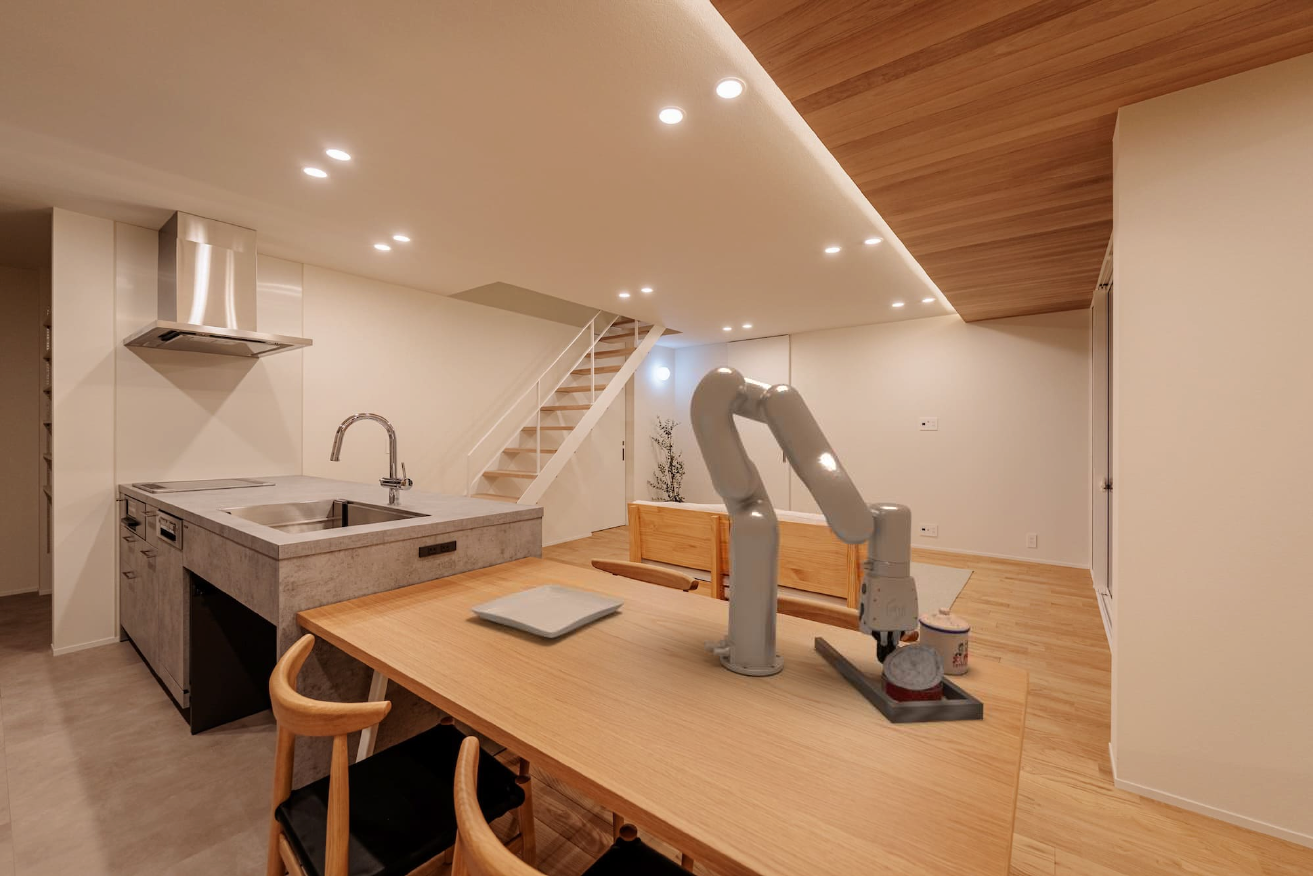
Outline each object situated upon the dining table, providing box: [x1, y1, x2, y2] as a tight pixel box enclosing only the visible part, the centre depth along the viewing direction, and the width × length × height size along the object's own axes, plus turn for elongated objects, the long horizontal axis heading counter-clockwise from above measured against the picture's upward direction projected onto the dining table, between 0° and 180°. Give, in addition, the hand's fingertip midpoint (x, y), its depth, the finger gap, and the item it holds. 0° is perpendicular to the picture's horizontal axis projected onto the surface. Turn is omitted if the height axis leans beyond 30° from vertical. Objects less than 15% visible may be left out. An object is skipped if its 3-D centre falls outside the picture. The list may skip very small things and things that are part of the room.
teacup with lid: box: [918, 607, 971, 676], centre depth 108 cm, size 12×9×12 cm
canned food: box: [881, 642, 945, 702], centre depth 95 cm, size 11×10×10 cm
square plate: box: [469, 583, 626, 639], centre depth 129 cm, size 27×27×4 cm
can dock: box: [814, 636, 984, 724], centre depth 100 cm, size 16×30×2 cm, turn 7°
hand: (885, 663), depth 101 cm, fingers closed
